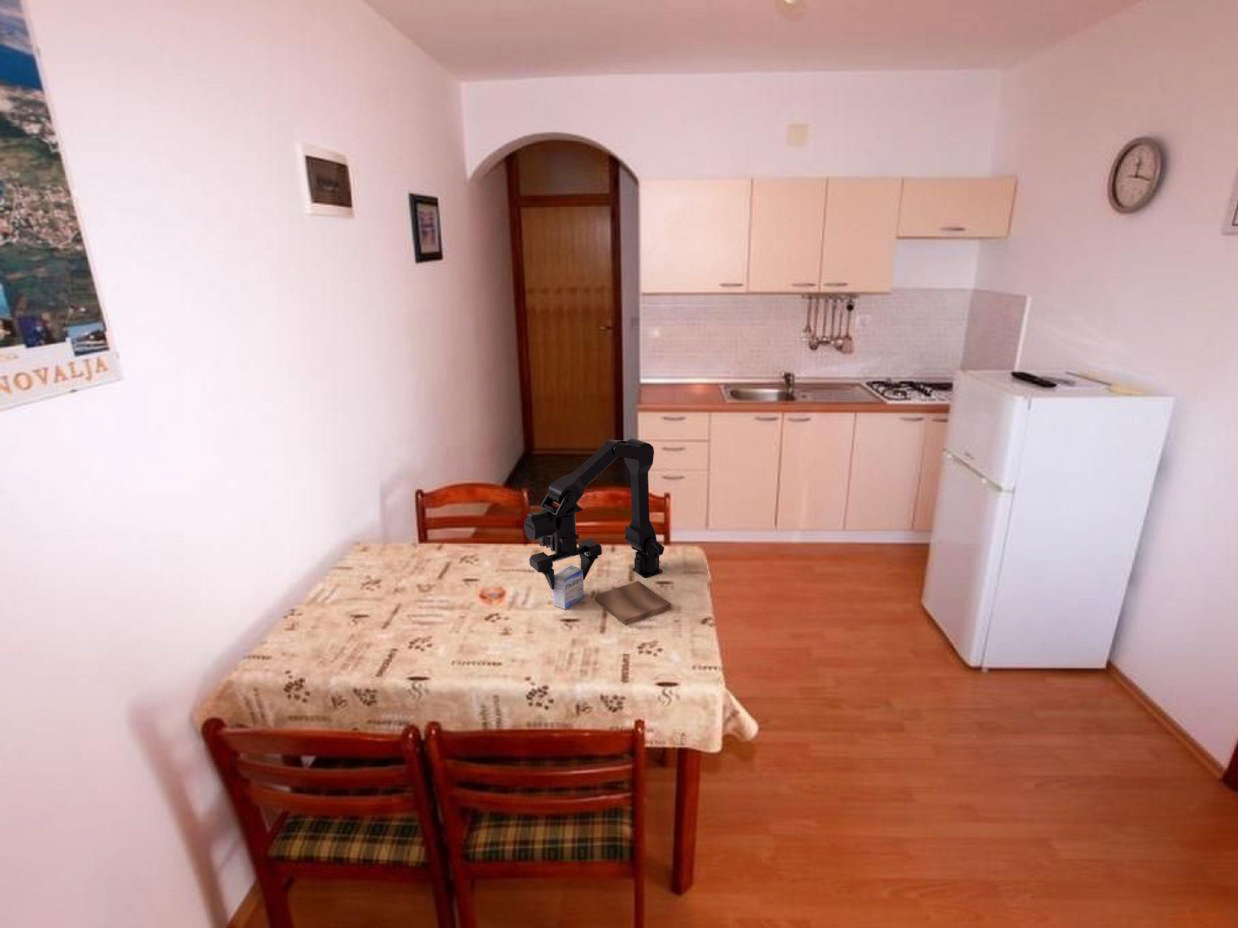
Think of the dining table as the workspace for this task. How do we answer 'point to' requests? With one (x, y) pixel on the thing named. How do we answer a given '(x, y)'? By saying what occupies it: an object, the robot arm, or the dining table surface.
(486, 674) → the dining table surface
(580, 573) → the medicine box
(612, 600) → the walnut board
